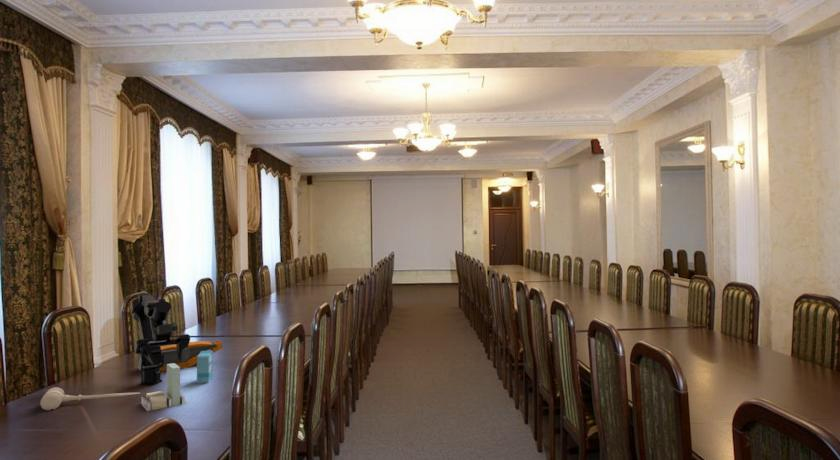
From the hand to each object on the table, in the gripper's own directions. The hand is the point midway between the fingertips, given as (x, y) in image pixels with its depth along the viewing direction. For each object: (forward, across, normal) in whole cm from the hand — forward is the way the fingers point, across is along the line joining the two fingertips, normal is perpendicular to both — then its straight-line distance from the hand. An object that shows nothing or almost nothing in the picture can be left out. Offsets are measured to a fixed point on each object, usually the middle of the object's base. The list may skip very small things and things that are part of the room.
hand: (166, 362), depth 195 cm
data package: (0, +18, +19) cm, 26 cm away
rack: (+16, -3, +3) cm, 17 cm away
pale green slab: (+16, 0, +2) cm, 16 cm away
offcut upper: (+14, -6, +1) cm, 15 cm away
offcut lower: (+16, -6, +2) cm, 17 cm away
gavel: (+1, -21, +19) cm, 29 cm away
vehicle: (-24, +19, +44) cm, 54 cm away
